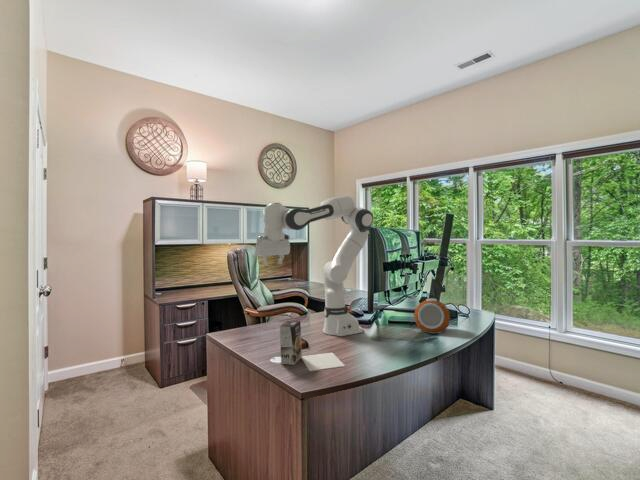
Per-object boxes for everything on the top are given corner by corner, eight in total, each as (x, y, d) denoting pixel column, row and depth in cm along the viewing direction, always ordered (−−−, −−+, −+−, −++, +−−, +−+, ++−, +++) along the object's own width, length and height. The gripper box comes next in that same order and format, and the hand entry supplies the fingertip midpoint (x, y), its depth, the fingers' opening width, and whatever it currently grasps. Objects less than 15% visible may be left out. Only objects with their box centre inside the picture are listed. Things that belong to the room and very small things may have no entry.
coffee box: (295, 365, 136) (293, 326, 136) (280, 364, 138) (279, 326, 138) (302, 356, 145) (300, 320, 144) (289, 355, 147) (287, 320, 146)
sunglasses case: (278, 339, 170) (284, 327, 171) (289, 344, 173) (295, 332, 174) (293, 350, 154) (299, 337, 156) (304, 355, 157) (310, 342, 159)
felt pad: (332, 353, 150) (332, 352, 150) (345, 366, 135) (345, 365, 135) (300, 357, 146) (300, 356, 146) (309, 371, 130) (309, 370, 130)
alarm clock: (412, 332, 179) (412, 301, 179) (415, 324, 196) (415, 295, 195) (450, 336, 172) (449, 303, 172) (450, 327, 188) (450, 297, 188)
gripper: (261, 236, 149) (261, 266, 149) (292, 236, 165) (292, 263, 166) (252, 236, 153) (252, 265, 153) (283, 236, 169) (282, 263, 169)
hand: (273, 264), depth 160 cm, fingers open, 8 cm apart
